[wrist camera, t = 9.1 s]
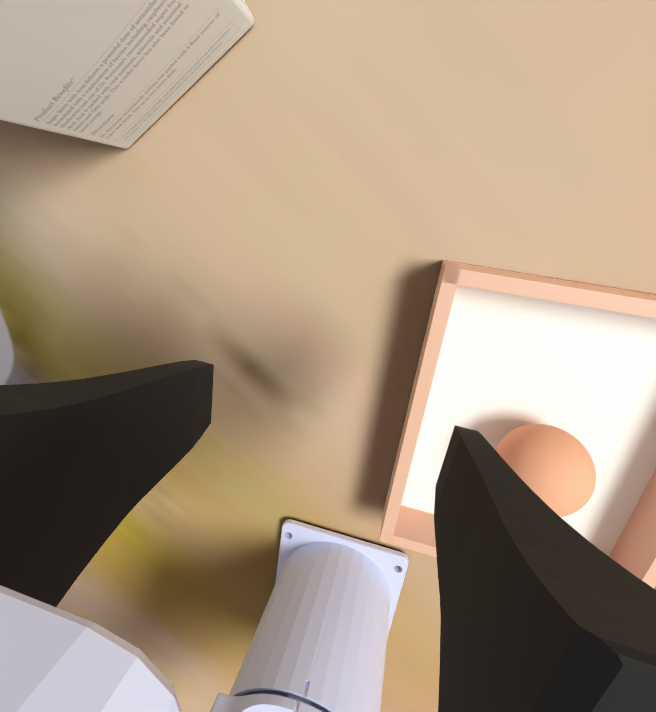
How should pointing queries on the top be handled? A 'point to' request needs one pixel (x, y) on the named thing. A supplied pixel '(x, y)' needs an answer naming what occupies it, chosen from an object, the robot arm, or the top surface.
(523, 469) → the terracotta ball
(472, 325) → the peach open box
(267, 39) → the top surface
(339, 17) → the top surface
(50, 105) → the supplement box
